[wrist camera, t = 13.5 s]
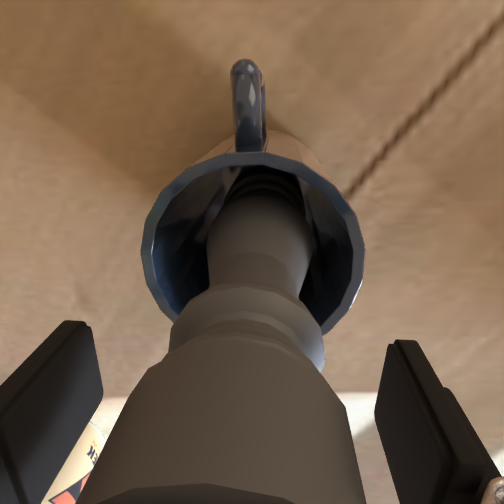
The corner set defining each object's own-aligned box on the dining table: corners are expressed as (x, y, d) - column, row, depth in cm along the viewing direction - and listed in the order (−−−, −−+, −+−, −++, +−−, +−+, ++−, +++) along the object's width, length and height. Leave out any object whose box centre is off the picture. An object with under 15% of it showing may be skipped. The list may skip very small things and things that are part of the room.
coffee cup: (107, 471, 45) (52, 591, 34) (34, 452, 45) (-45, 568, 34) (116, 421, 41) (58, 537, 30) (37, 400, 41) (-51, 511, 30)
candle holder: (284, 248, 30) (303, 700, 8) (217, 221, 30) (18, 620, 7) (316, 182, 28) (486, 553, 5) (243, 151, 28) (72, 413, 5)
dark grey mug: (327, 259, 31) (356, 356, 20) (203, 261, 32) (159, 355, 20) (334, 68, 26) (382, 41, 14) (181, 78, 26) (102, 60, 15)
